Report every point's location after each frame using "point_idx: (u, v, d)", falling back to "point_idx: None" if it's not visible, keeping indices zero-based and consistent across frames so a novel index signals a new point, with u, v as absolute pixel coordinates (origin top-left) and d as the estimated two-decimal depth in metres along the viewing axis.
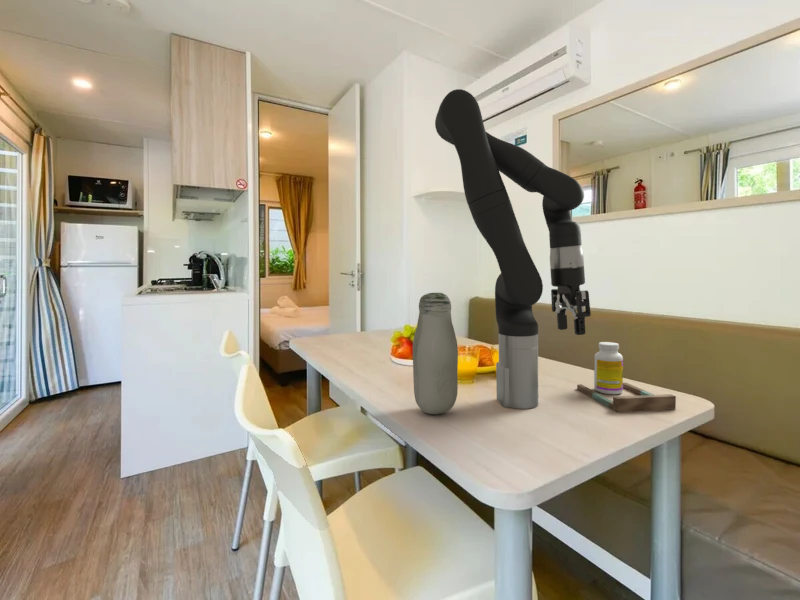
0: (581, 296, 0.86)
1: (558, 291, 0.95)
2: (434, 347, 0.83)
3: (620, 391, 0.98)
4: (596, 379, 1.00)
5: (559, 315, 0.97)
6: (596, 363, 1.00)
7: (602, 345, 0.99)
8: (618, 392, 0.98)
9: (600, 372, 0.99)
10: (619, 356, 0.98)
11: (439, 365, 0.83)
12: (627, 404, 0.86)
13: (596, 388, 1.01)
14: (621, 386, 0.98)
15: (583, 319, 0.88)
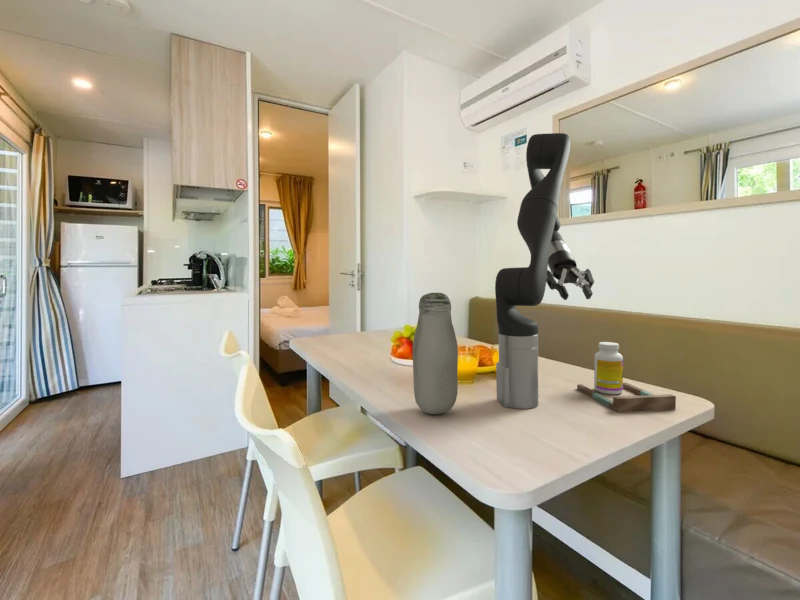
0: None
1: (557, 269, 1.15)
2: (434, 347, 0.83)
3: (620, 391, 0.98)
4: (596, 379, 1.00)
5: None
6: (596, 363, 1.00)
7: (602, 345, 0.99)
8: (618, 392, 0.98)
9: (600, 372, 0.99)
10: (619, 356, 0.98)
11: (439, 365, 0.83)
12: (627, 404, 0.86)
13: (596, 388, 1.01)
14: (621, 386, 0.98)
15: None
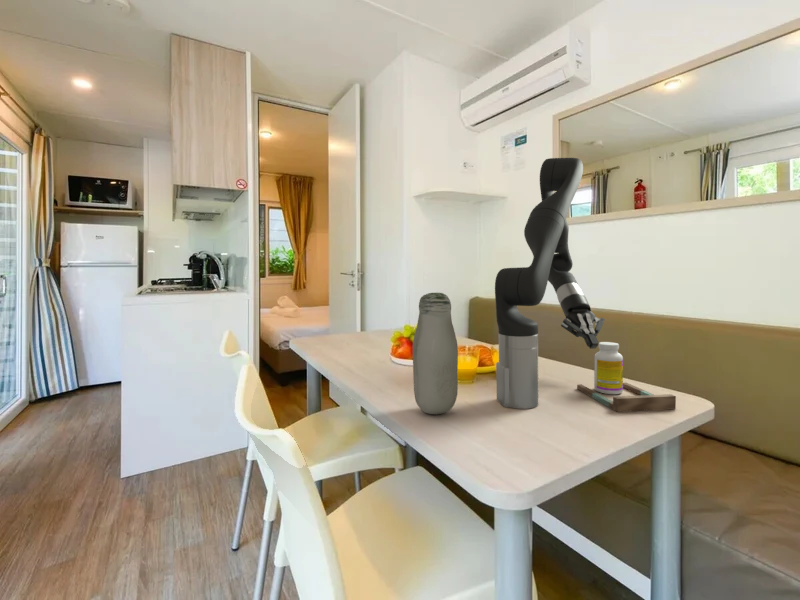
0: None
1: (570, 314, 1.13)
2: (434, 347, 0.83)
3: (620, 391, 0.98)
4: (596, 379, 1.00)
5: None
6: (596, 363, 1.00)
7: (602, 345, 0.99)
8: (618, 392, 0.98)
9: (600, 372, 0.99)
10: (619, 356, 0.98)
11: (439, 365, 0.83)
12: (627, 404, 0.86)
13: (596, 388, 1.01)
14: (621, 386, 0.98)
15: None
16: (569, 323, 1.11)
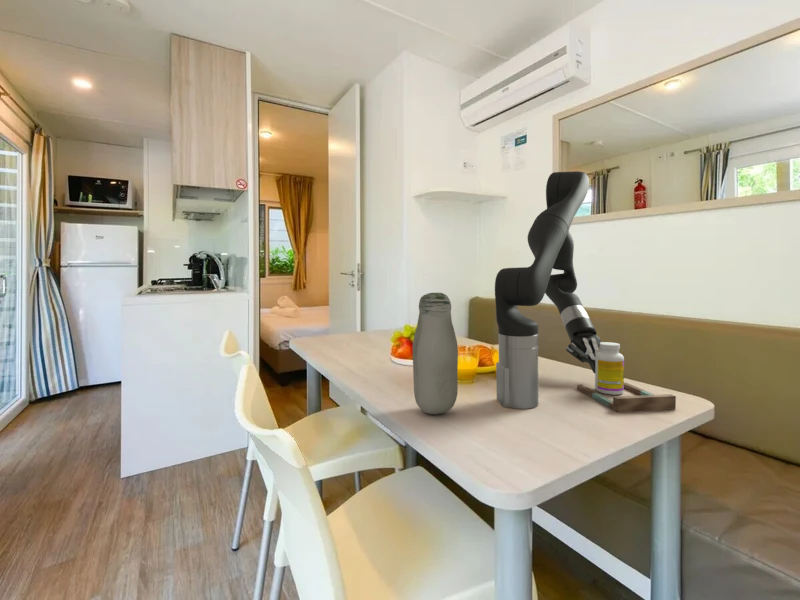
0: None
1: (576, 338, 1.10)
2: (434, 347, 0.83)
3: (621, 391, 0.98)
4: (597, 379, 1.00)
5: None
6: (597, 363, 1.00)
7: (603, 345, 0.99)
8: (619, 392, 0.97)
9: (601, 372, 0.99)
10: (620, 356, 0.97)
11: (439, 365, 0.83)
12: (627, 404, 0.86)
13: (597, 388, 1.00)
14: (622, 386, 0.98)
15: None
16: (574, 348, 1.08)
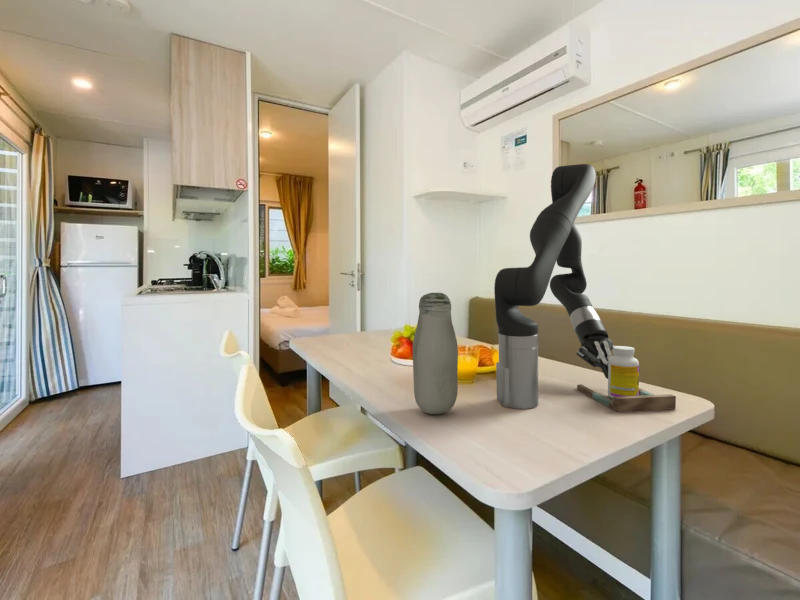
0: None
1: (587, 341, 1.05)
2: (434, 347, 0.83)
3: None
4: (610, 385, 0.95)
5: None
6: (610, 368, 0.94)
7: (616, 349, 0.93)
8: None
9: (614, 378, 0.93)
10: (635, 361, 0.92)
11: (439, 365, 0.83)
12: (627, 404, 0.86)
13: (610, 395, 0.95)
14: (637, 393, 0.92)
15: None
16: (586, 352, 1.02)
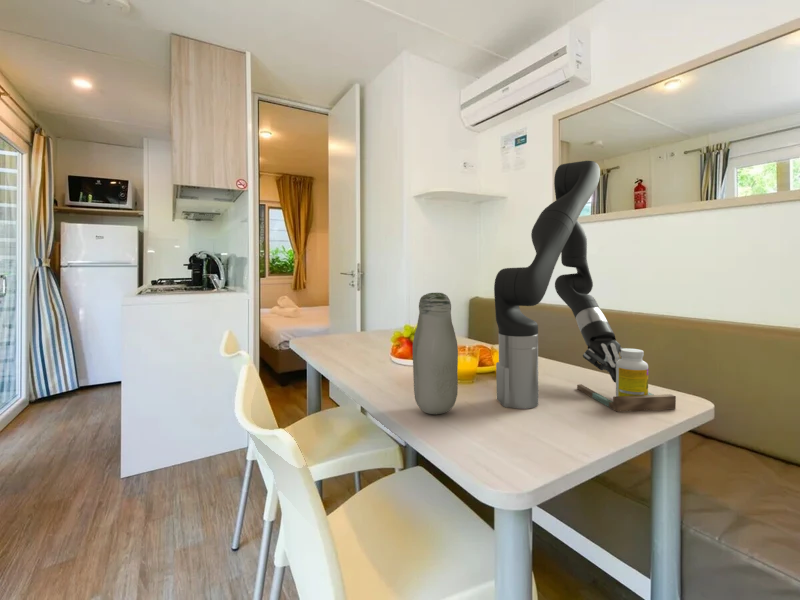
0: None
1: (593, 344, 1.02)
2: (434, 347, 0.83)
3: None
4: (618, 389, 0.91)
5: None
6: (618, 372, 0.91)
7: (625, 352, 0.90)
8: None
9: (622, 381, 0.90)
10: (644, 364, 0.88)
11: (439, 365, 0.83)
12: (627, 404, 0.86)
13: None
14: None
15: None
16: (592, 354, 0.99)
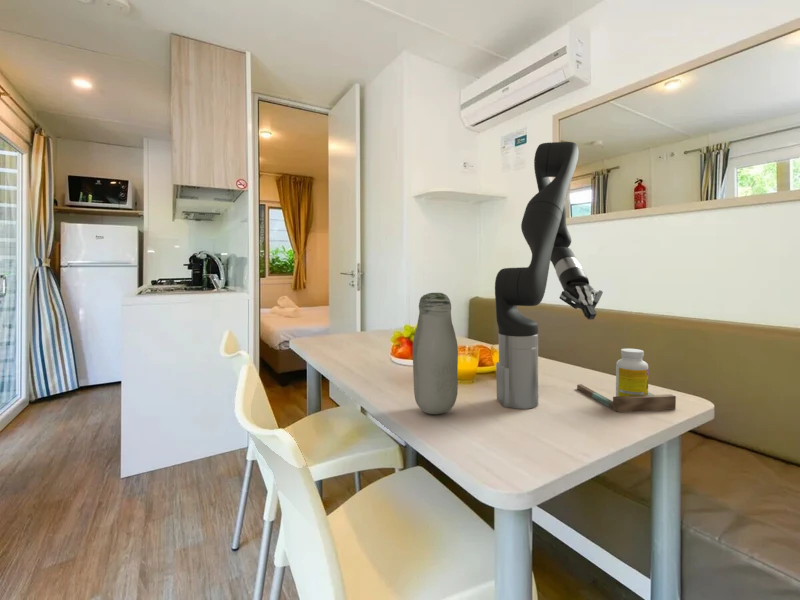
0: (601, 295, 1.13)
1: (569, 286, 1.14)
2: (434, 347, 0.83)
3: None
4: (618, 389, 0.91)
5: None
6: (618, 372, 0.91)
7: (625, 352, 0.90)
8: None
9: (622, 382, 0.90)
10: (644, 364, 0.88)
11: (439, 365, 0.83)
12: (627, 404, 0.86)
13: None
14: None
15: None
16: (567, 295, 1.11)
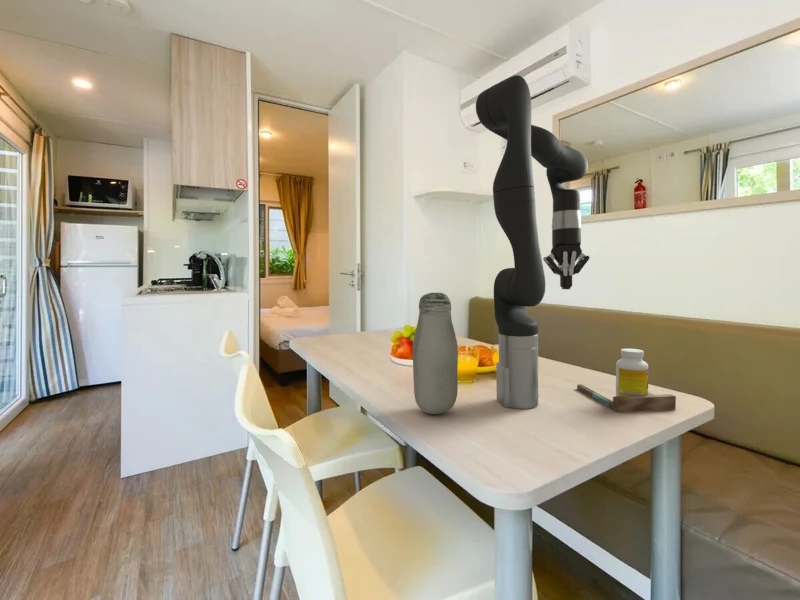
0: None
1: (557, 250, 1.07)
2: (434, 347, 0.83)
3: None
4: (618, 389, 0.91)
5: (566, 276, 1.08)
6: (618, 372, 0.91)
7: (625, 352, 0.90)
8: None
9: (622, 382, 0.90)
10: (644, 364, 0.88)
11: (439, 365, 0.83)
12: (627, 404, 0.86)
13: None
14: None
15: None
16: (551, 262, 1.07)
